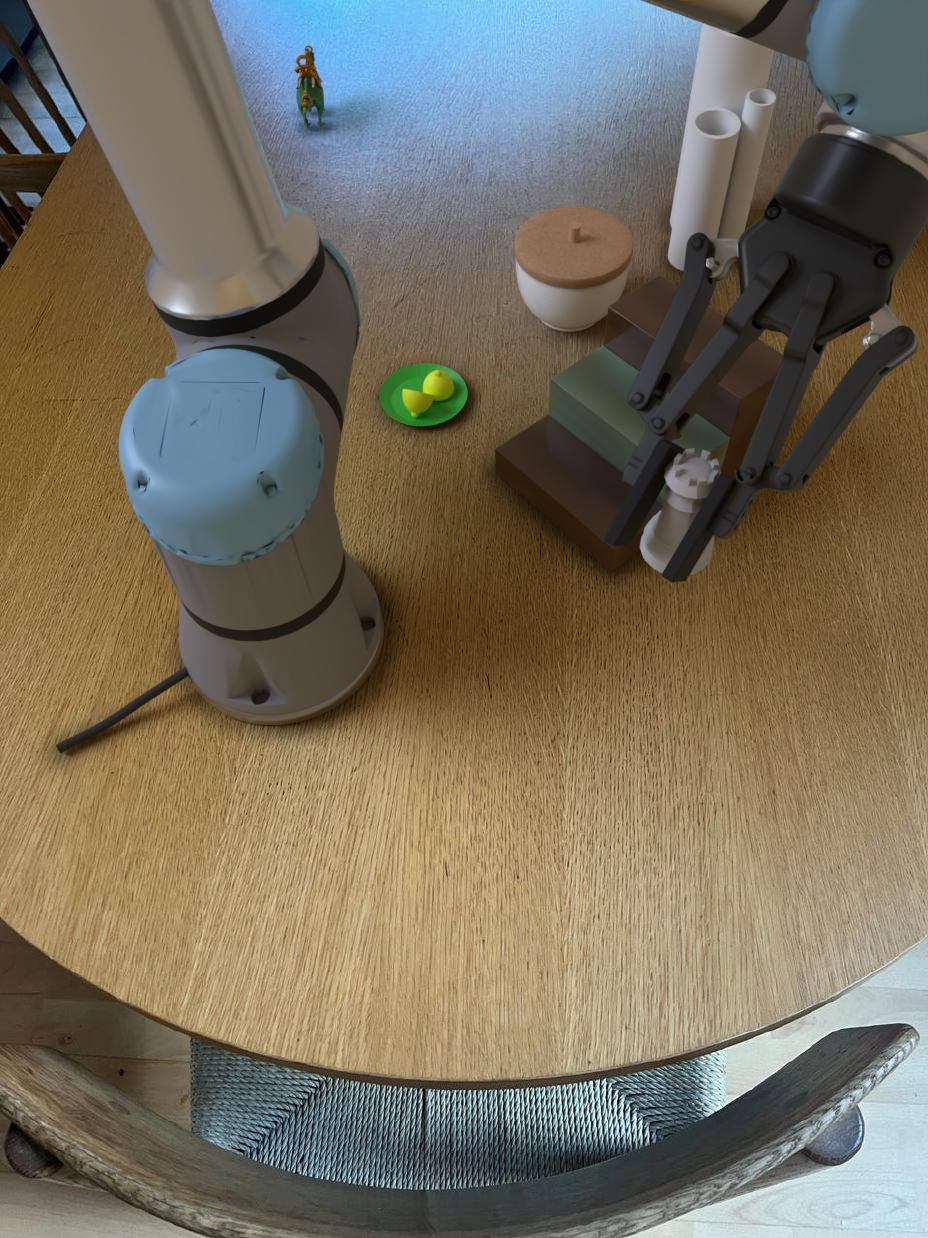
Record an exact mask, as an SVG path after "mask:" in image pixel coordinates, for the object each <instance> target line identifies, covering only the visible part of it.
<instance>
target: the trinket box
mask: <svg viewBox="0 0 928 1238" xmlns="http://www.w3.org/2000/svg"><path fill="white" fill-rule="evenodd" d="M633 254H634V238H633V235H632V233H631V231H630V230H629V229H628V227H627V226H626V225H625V224H624V222H622V221H621V219H618V218H617V217H616V216H614V215H612V214H610V213H608V212H605V211H602V210H601V209H596V208H592V207H587V206H586V207H585V206H559V207H554V208H550V209H546V210H544V211H541V212H539V213H537V214H535V215H532V216H531V217H530V218H528V219H527V220H526V221H525V222H524V223H523V224H522V225H521V226H520V227H519V228H518V231H517V232H516V235H515V238H514V257H515V274H516V281H517V282H516V283H517V286H518V290H519V293H520V296H521V298H522V300H523V302H524V304H525V306H526V307H527V309H529V311H530V312H531V313H532V314H533V315H534V316H535V317H536V318H538V319H539V320H540V321H541V323H543V324H544V325H545V326H547V327H548V328H550V329H552V330H555V331H559V332H564V333H565V332H566V333H574V332H575V333H576V332H580V331H584V330H587V329H589V328H591V327H592V326H594V325H595V324H597V322H598V321H600V320H602V319H604V318H605V317H607V313H608V306H610V305H611V304H613V303H615V302H616V301H618V300H619V299H621V298H622V294H623V292H624V290H625V287H626V284H627V281H628V277H629V272H630V268H631V261H632V259H633Z"/></svg>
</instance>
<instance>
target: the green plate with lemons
mask: <svg viewBox="0 0 928 1238" xmlns="http://www.w3.org/2000/svg"><path fill="white" fill-rule="evenodd" d="M378 392H379V393H378V400H379V405H380V407H381V408H382V410H383V411H384V413H385V414H386V415H387V416H389V417H390V418H391V419H393V420H394V421H396V422H398V423H401V424H404V425H407V426H413V427H428V426H434V425H438V424H439V425H440V424H441V423H445V422H446V421H448V420H450V419H452V418H454V417H455V416H456V415H458V413H459V412H460V411H462V409H463V407H464V406H465V404H466V403H467V399H468V387H467V383H466V381H465V380H464V379H463V378H462V376H461V375H460V374H459V373H457V372H456V371H454V370H453V369H452V368H450V367H447V366H445V365H441V364H438V363H432V362H431V363H429V362H424V363H423V362H422V363H421V362H420V363H414V364H409V365H406V366H402V367H401V368H398V369H397V370H395V371H393V372H392V373H391V374H389V375H388V376H387V377H386V378H385V380H384V381H383V383H381V386H380V388H379V391H378Z"/></svg>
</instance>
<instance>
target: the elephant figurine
mask: <svg viewBox="0 0 928 1238" xmlns="http://www.w3.org/2000/svg"><path fill="white" fill-rule="evenodd" d="M313 50H314V48H313V46H311V45H310V44H307V45H305V46H304V54H300V55H298V56H297V57H296V59H295V63H296V64H297V66H295V67H294V72H295V73H296V74H297V75H298V74H299V75H298V76H297V83H296V88H295V89H296V92H295V93H296V95H295V98H296V104H297V108H298V109H299V110H298V111H299V113H300V114H301V116H302V118H303V126H304V127H305V128H306V130H309V127H310V126H311V125H312V122H309V119H308V118H307V113H312V111H313V108H315V109H316V112H317V119H318V121H317V125H318V128H319V130H321V129H322V127H325V125H326V122H323V121H322V117H323V113H324V111H326V108H325V94H324V87H323V85H322V83H323V80H322V78H321V77H320V76H319V73H318V70H317V66H316V65H315V61H316V59H315V52H314V51H313ZM301 60H305V63H303V64H301V62H300V61H301Z"/></svg>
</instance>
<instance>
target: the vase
mask: <svg viewBox="0 0 928 1238" xmlns="http://www.w3.org/2000/svg"><path fill="white" fill-rule="evenodd" d="M774 56H775V51H774V50H772V49H769V48H767V47H764V46H762V45H759V44H757V43H755V42H752V41H750V40H747V39H745V38H742V37H739V36H737V35H734V34H731V33H728V32H726V31H723V30H720V29H718V28H715V27H712V26H709V25H707V24H704V23H702V24H701V30H700V36H699V42H698V49H697V54H696V61H695V65H694V72H693V77H692V84H691V91H690V97H689V103H688V109H687V115H686V119H685V127H684V132H683V139H682V145H681V152H680V158H679V164H678V169H677V174H676V175H677V176H676V181H675V187H674V194H673V200H672V206H671V212H670V219H669V225H670V228H671V232H670V239H669V240H670V241H669V244H668V245H669V246H668V251H667V259H668V262H669V263H670V265H672V266H673V267H674V268H675V269H677V270H679V271H682V272H684V263H685V255H686V246H687V242H688V239H689V238H690V237H691V236H692V235H693V234H695V233H704V234H705V235H706V236H707V237H708V238H710V239H717V238H740V236H741V235H742V233H743V232H744V231H745V230H746V226H747V222H748V218H749V214H750V209H751V206H752V205H751V204H752V200H753V197H754V192H755V188H756V184H757V179H758V176H759V171H760V167H761V163H762V159H763V155H764V150H765V146H766V143H767V137H768V133H769V129H770V125H771V121H772V118H773V113H774V108H775V104H776V100H777V95H776V93H775V92H774V91H772V90H771V89H768V88H767V86H768V82H769V77H770V73H771V69H772V64H773V59H774Z"/></svg>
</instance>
